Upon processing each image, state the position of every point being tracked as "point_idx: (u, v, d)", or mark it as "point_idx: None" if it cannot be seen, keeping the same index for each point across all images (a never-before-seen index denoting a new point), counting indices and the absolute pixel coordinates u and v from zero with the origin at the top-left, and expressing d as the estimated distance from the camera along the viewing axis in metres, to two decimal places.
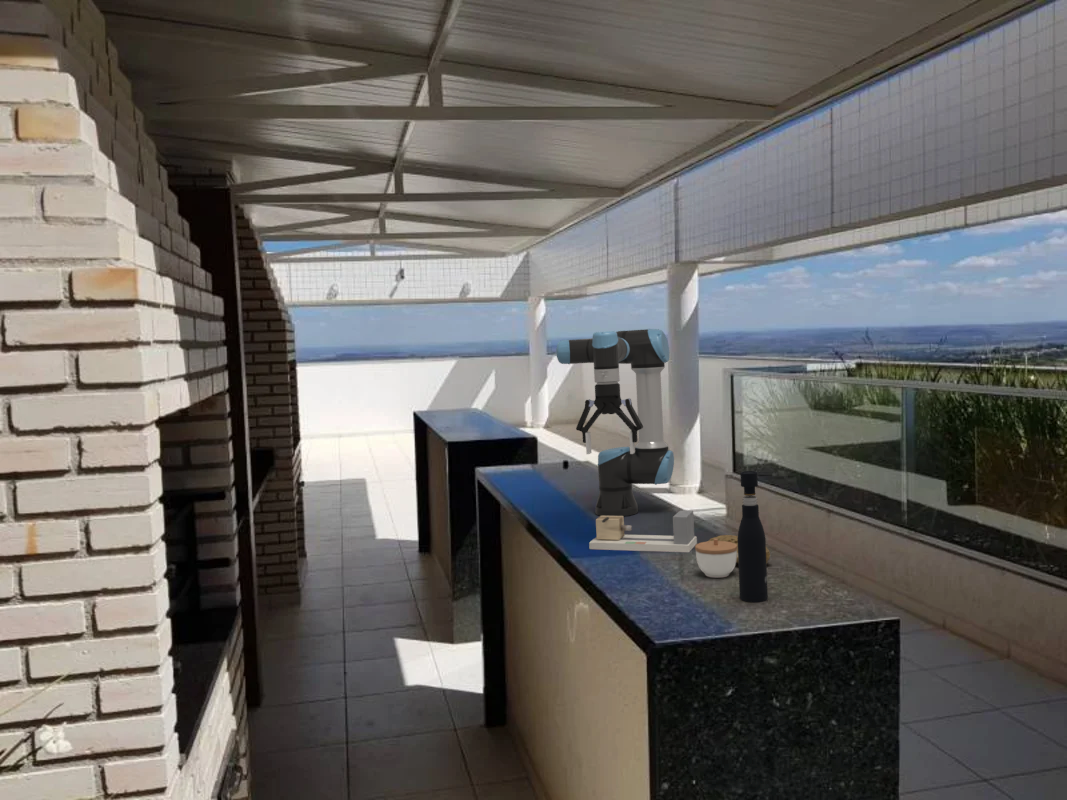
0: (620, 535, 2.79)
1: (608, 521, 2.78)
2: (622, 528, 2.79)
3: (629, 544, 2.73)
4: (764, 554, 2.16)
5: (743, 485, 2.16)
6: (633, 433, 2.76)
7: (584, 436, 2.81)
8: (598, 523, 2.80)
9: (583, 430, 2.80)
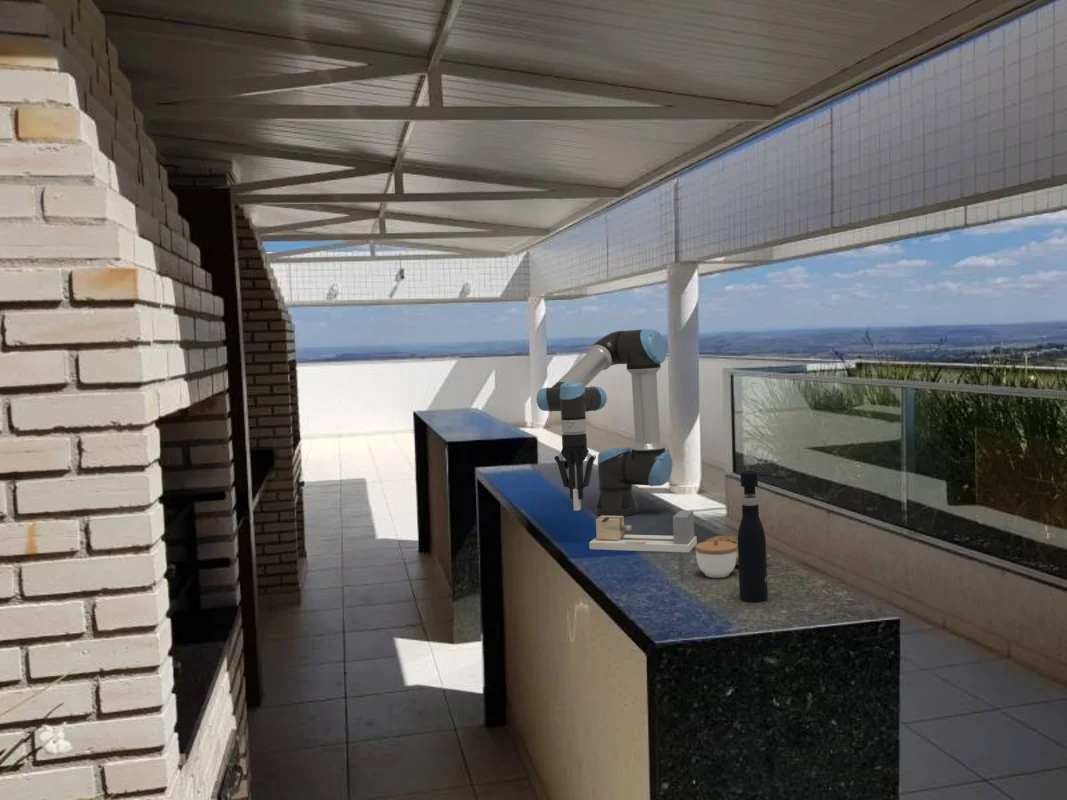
0: (620, 535, 2.79)
1: (608, 521, 2.78)
2: (622, 528, 2.79)
3: (629, 544, 2.73)
4: (764, 554, 2.16)
5: (743, 485, 2.16)
6: (579, 490, 2.83)
7: (571, 492, 2.84)
8: (598, 523, 2.80)
9: (570, 487, 2.83)
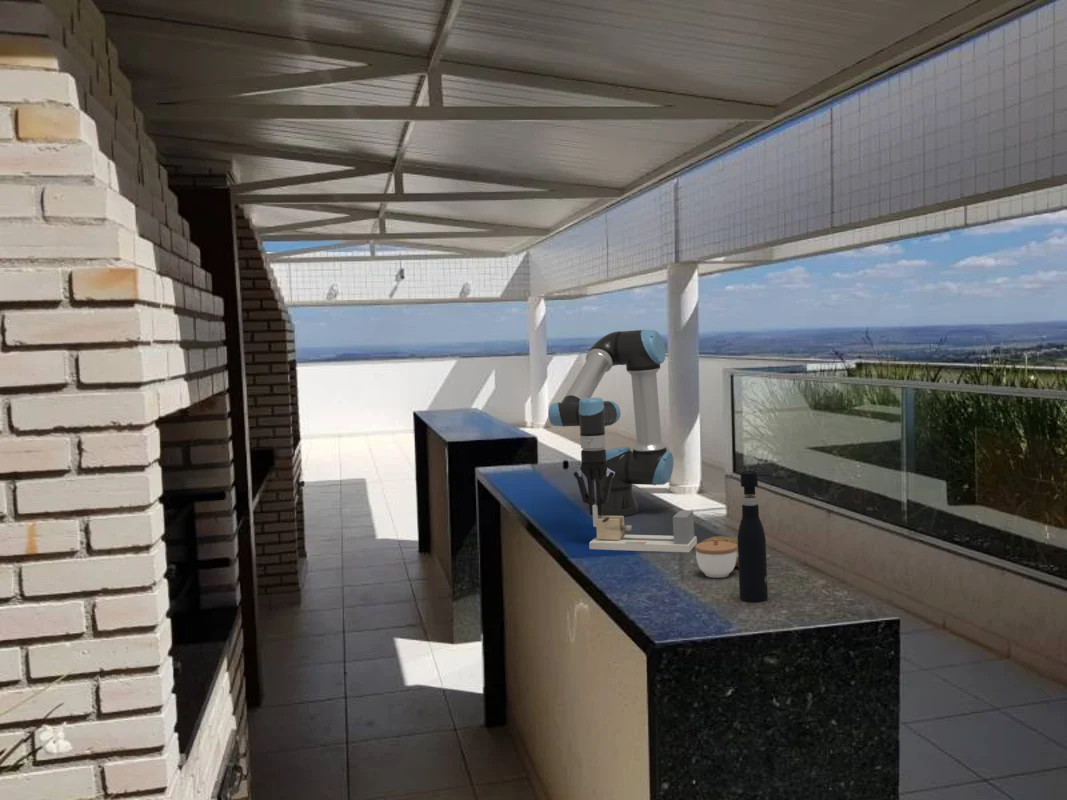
0: (620, 535, 2.79)
1: (608, 521, 2.78)
2: (622, 528, 2.79)
3: (629, 544, 2.73)
4: (764, 554, 2.16)
5: (743, 485, 2.16)
6: (598, 506, 2.81)
7: (591, 508, 2.82)
8: (599, 523, 2.79)
9: (590, 503, 2.82)
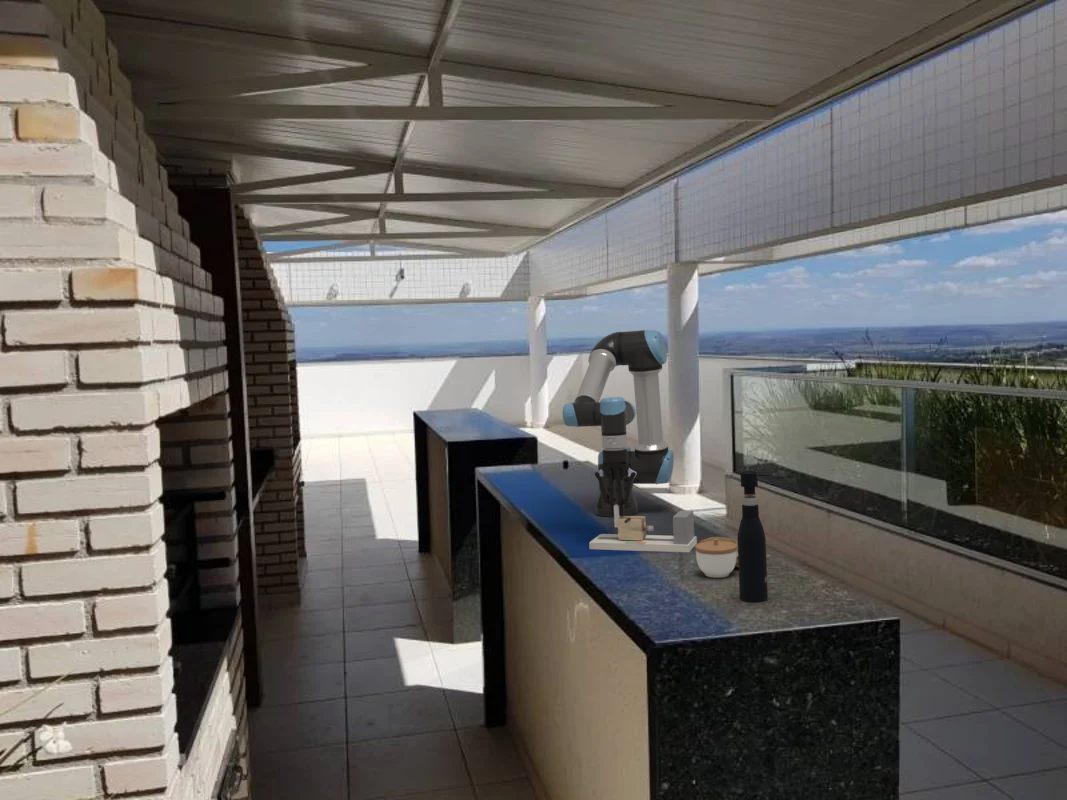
0: (642, 536, 2.76)
1: (630, 521, 2.76)
2: (644, 529, 2.77)
3: (629, 544, 2.73)
4: (764, 554, 2.16)
5: (743, 485, 2.16)
6: (620, 507, 2.79)
7: (612, 509, 2.80)
8: (620, 524, 2.77)
9: (611, 503, 2.79)
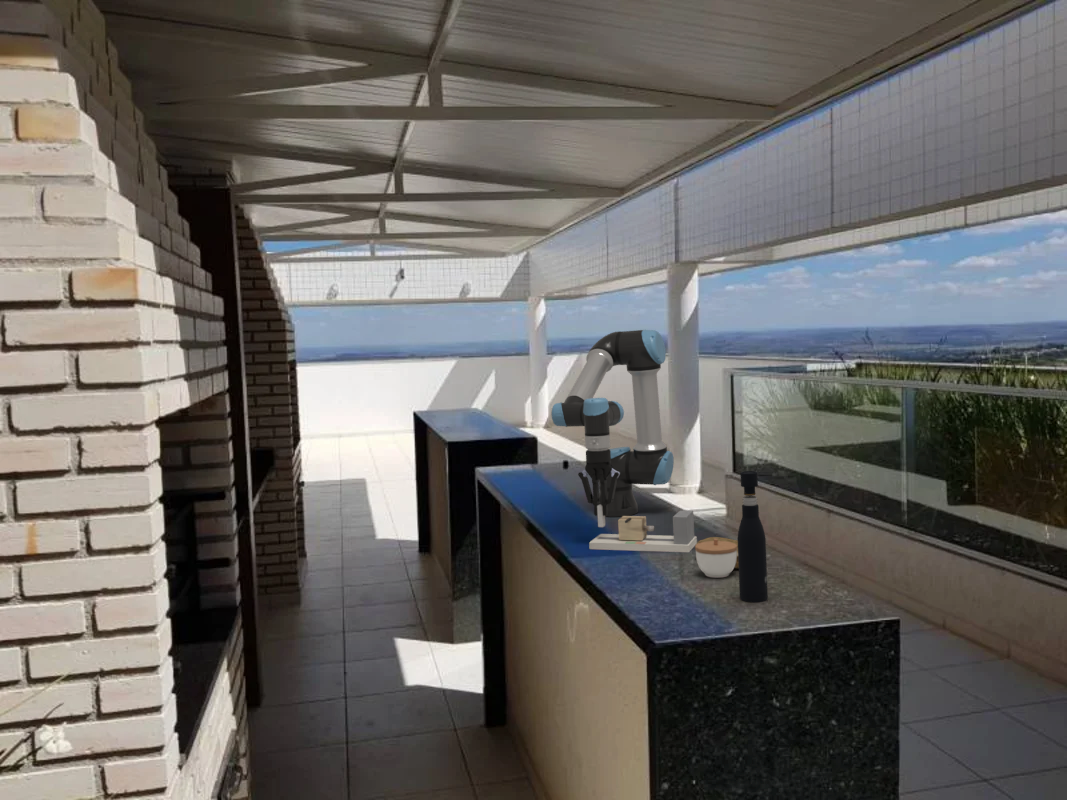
0: (642, 536, 2.76)
1: (631, 521, 2.76)
2: (645, 529, 2.77)
3: (629, 544, 2.73)
4: (764, 554, 2.16)
5: (743, 485, 2.16)
6: (603, 507, 2.81)
7: (596, 509, 2.82)
8: (621, 524, 2.77)
9: (595, 503, 2.81)
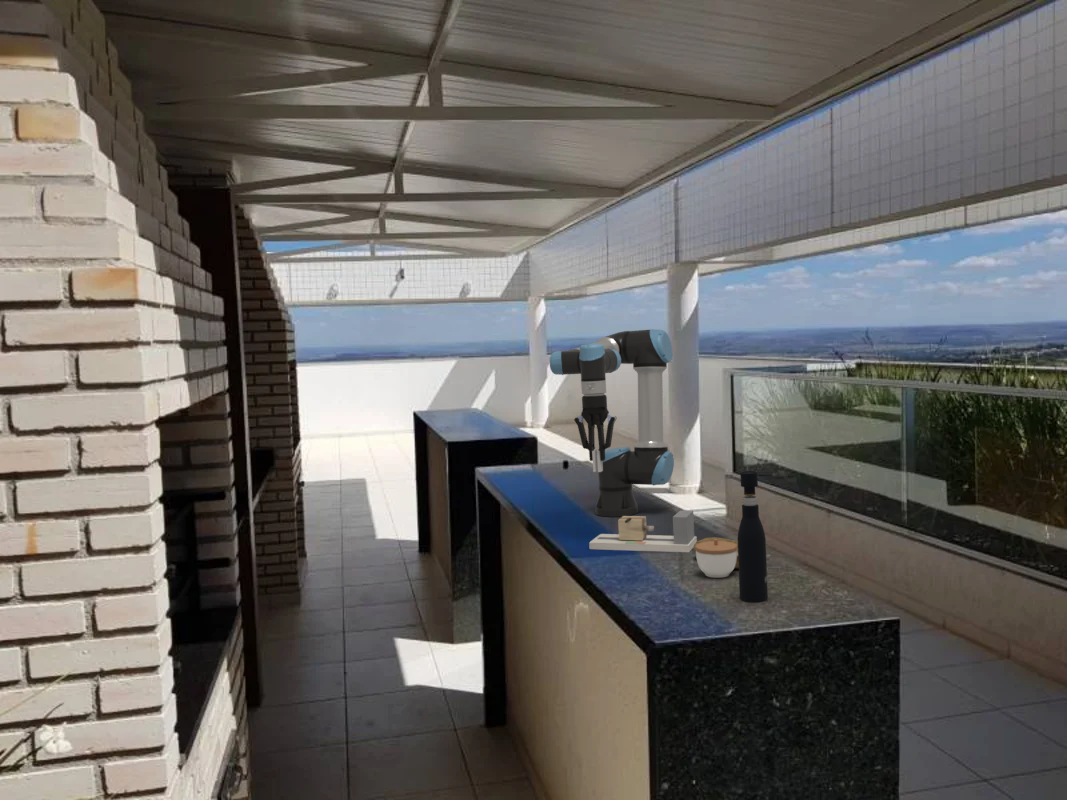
0: (642, 536, 2.76)
1: (631, 521, 2.76)
2: (645, 529, 2.77)
3: (629, 544, 2.73)
4: (764, 554, 2.16)
5: (743, 485, 2.16)
6: (601, 452, 2.83)
7: (591, 454, 2.84)
8: (621, 524, 2.77)
9: (590, 448, 2.83)
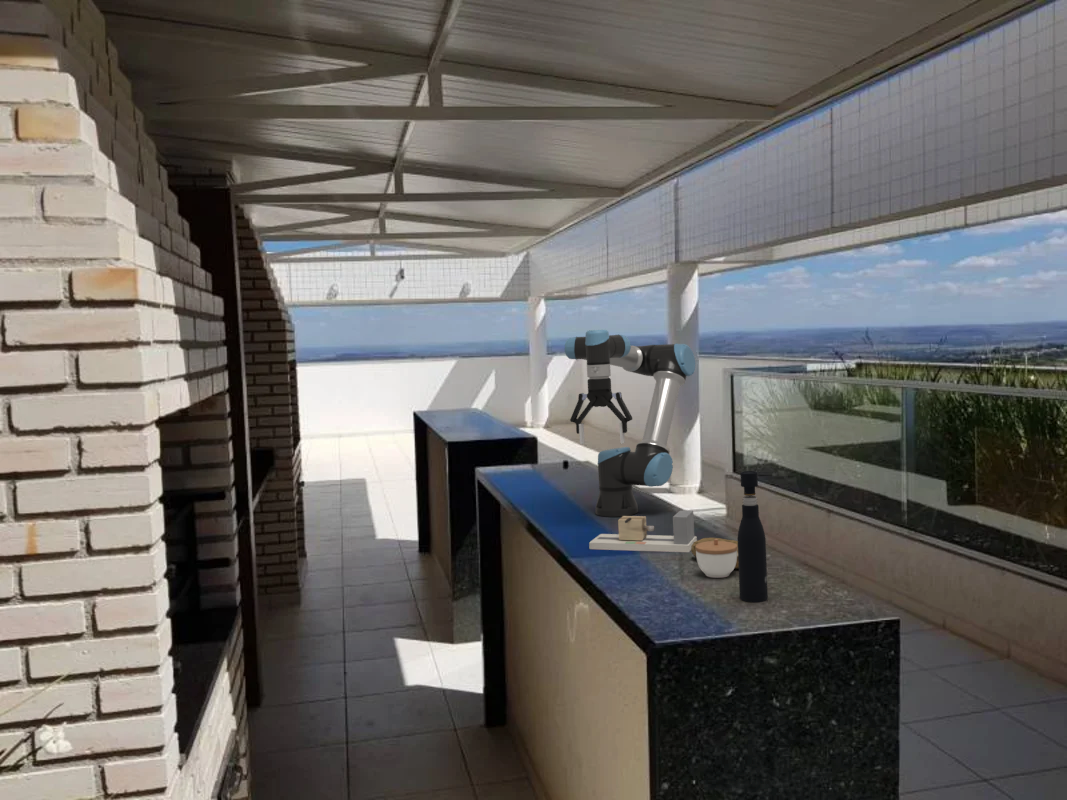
0: (642, 536, 2.76)
1: (631, 521, 2.76)
2: (645, 529, 2.77)
3: (629, 544, 2.73)
4: (764, 554, 2.16)
5: (743, 485, 2.16)
6: (623, 424, 2.96)
7: (578, 427, 3.02)
8: (621, 524, 2.77)
9: (577, 422, 3.01)
